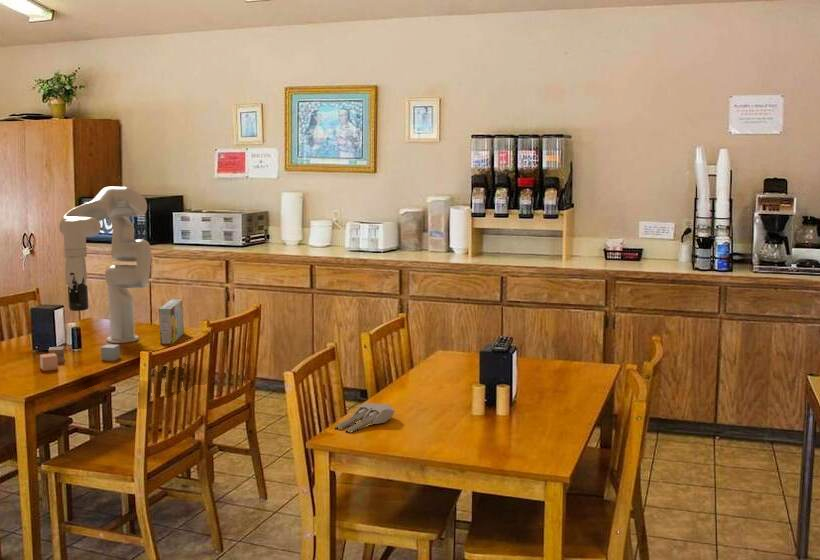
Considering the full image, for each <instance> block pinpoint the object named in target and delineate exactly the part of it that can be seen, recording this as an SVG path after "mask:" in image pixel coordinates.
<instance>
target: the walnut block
mask: <svg viewBox="0 0 820 560" xmlns="http://www.w3.org/2000/svg"><path fill="white" fill-rule="evenodd" d="M47 352H48V354H51V353H55V354H56V355H57V361H58V364H59V363H65V348H64V346H52V347H51V346H49V348H48V351H47Z"/></svg>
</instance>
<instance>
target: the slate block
mask: <svg viewBox="0 0 820 560" xmlns="http://www.w3.org/2000/svg"><path fill="white" fill-rule="evenodd" d="M120 348H121V347H120V344H104V345H103V346H101V347H100V359H101V361H116V360H118V359H119V358H121V354H120V353H121V351H120Z"/></svg>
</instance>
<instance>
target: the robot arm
mask: <svg viewBox="0 0 820 560" xmlns="http://www.w3.org/2000/svg"><path fill="white" fill-rule="evenodd" d="M147 210H148V203H147V200H146V198H145V197H144V196H143V195H142V194H141V193H139V192H138V191H137V190H135V189H133V188H131V187H128V186H106V187H103V188H101V190H99V192H98V193H97V194H95V196H94V197H93V198H92V199H91V200H90V201H89V202H86V203H83V204H80V205H79V206H75V207H73V208H72V209H70V210H68V211H67V212H66V213H65V214H64V215H63V217H62V218H61V220H60V222H59V232H60V233H61V234H62V235H63V247H64V248H63V250H64V258H65V270H64V271H65V274H64V275H65V284H66V285H67V286H69V292H70V303H79V302H80V299H79V292H78V287H79V284H81V283H82V280H83V278H84V284H86V281H87V279H88V278H87V276H88V275H87V264H86V258H87V255H88V254H87V238H93V237H96V236H98V235H99V233H100V232H101V230H102V229H101V227H102V225H101V222H100V221H104V220H105V219H107V218H108V219H109V221H110V223H111V226H112V236H111V248H110V249H111V250H110V255H111V258H112V260H113V261H115V262H120V263H136V264H112V265H110V266H108V267H107V268H106V269H105V272H104V279H105V284H106V288H107V295H108V311H109V314H108V315H109V316H108V317H109V331H110V332H109V334H110V335H109V336H107V337H106V342H107V343H108V342H109V343H111V344H125V343H132V342H135V341H138V340H139V336H138V335H137V334H135V318H134V314H135V312H134V298H133V295H132V293H131V291H130V290H129V289H143V288H146V287H147V286H148V285H149V282H150V277H151V276H150V274H151V263H152V262H151V261H152V247H151V244H150V243H149V241H147V240H146V239H141V238H138V239H137V238H135V227H134V225H133V223H132V222H131V220H130V219H129V217H137V218H139V217H142V216H144V215H145V214H146V213H147ZM73 283H74V284H73ZM75 286H76V288H75Z"/></svg>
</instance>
